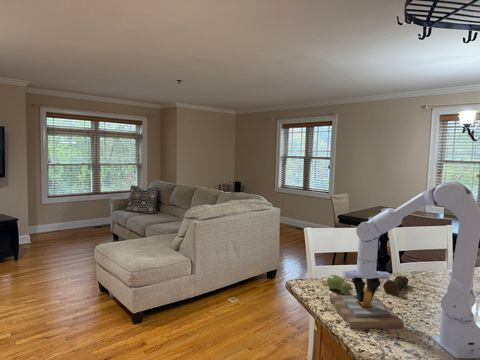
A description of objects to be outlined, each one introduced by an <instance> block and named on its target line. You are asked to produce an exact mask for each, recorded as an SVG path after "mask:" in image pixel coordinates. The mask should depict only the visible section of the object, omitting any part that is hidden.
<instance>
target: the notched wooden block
mask: <svg viewBox="0 0 480 360" xmlns="http://www.w3.org/2000/svg"><path fill="white" fill-rule="evenodd" d="M371 297H372V292H371V291H370V290H369V289H368V288H367V285H365V286H364V290H363V300H362V302H359V301H358V304H359V305H360V306H361V307H362V308H371Z"/></svg>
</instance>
